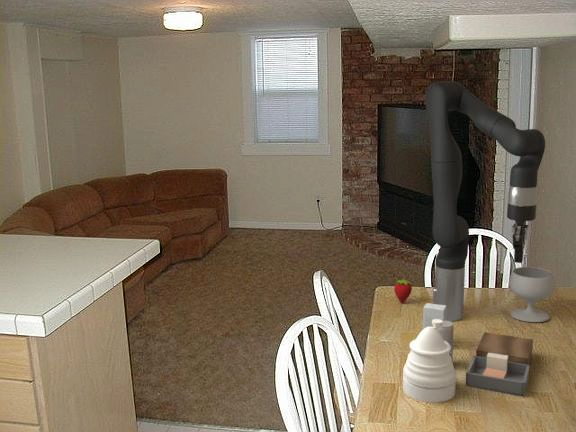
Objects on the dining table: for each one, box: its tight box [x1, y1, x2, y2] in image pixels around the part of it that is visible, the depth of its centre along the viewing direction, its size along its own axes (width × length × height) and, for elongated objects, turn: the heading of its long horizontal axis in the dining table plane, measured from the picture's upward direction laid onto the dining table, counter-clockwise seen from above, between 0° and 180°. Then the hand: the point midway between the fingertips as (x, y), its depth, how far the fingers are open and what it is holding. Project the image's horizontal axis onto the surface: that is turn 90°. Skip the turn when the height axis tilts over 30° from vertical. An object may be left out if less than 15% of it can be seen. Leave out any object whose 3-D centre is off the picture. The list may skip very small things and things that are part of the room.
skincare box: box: [422, 302, 447, 330], centre depth 180 cm, size 6×4×12 cm
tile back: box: [486, 353, 508, 376], centre depth 162 cm, size 5×5×2 cm
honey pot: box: [402, 319, 457, 403], centre depth 154 cm, size 13×13×18 cm
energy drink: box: [433, 320, 454, 363], centre depth 168 cm, size 5×5×12 cm
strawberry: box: [393, 276, 413, 304], centre depth 215 cm, size 6×8×10 cm
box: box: [465, 355, 531, 398], centre depth 159 cm, size 14×11×4 cm
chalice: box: [508, 266, 556, 323], centre depth 200 cm, size 14×14×15 cm
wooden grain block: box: [475, 331, 534, 366], centre depth 169 cm, size 13×13×5 cm
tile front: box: [483, 368, 507, 379], centre depth 157 cm, size 5×5×2 cm
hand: (518, 261), depth 176 cm, fingers closed
